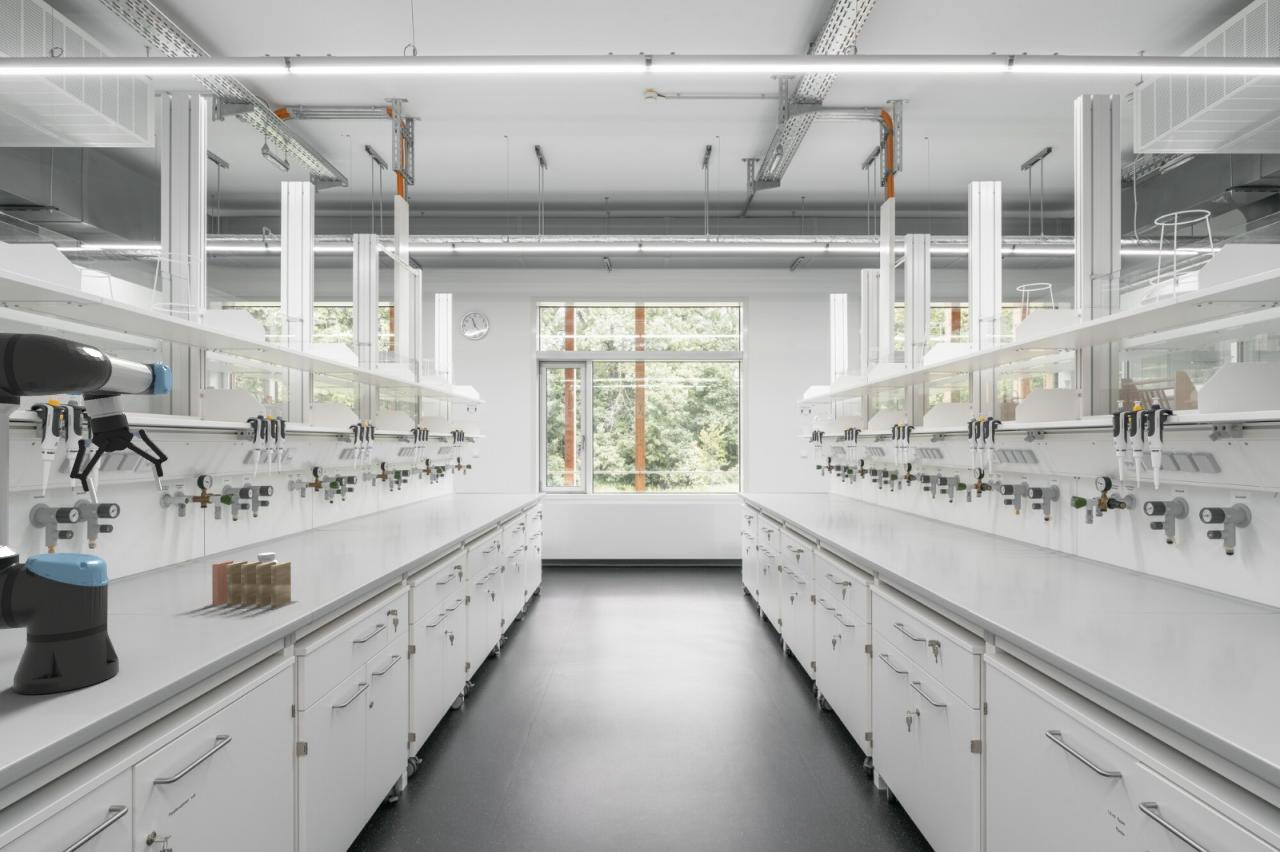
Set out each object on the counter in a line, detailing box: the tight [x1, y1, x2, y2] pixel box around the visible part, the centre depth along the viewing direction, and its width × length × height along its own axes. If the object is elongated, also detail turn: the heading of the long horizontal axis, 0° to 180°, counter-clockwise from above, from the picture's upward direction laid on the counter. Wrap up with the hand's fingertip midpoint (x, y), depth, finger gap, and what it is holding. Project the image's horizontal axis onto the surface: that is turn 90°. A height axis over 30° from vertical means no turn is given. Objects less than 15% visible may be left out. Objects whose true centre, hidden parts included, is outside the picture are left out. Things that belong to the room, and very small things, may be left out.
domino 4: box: [256, 562, 276, 607], centre depth 185 cm, size 2×6×11 cm, turn 169°
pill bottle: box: [257, 552, 279, 564], centre depth 204 cm, size 6×6×11 cm
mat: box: [203, 600, 300, 611], centre depth 186 cm, size 22×9×1 cm, turn 79°
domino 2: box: [227, 560, 248, 606], centre depth 187 cm, size 2×6×11 cm, turn 169°
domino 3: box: [241, 560, 262, 607], centre depth 186 cm, size 2×6×11 cm, turn 169°
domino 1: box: [211, 560, 234, 605], centre depth 188 cm, size 2×6×11 cm, turn 169°
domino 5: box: [271, 561, 292, 608], centre depth 184 cm, size 2×6×11 cm, turn 169°
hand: (128, 496), depth 176 cm, fingers open, 13 cm apart
